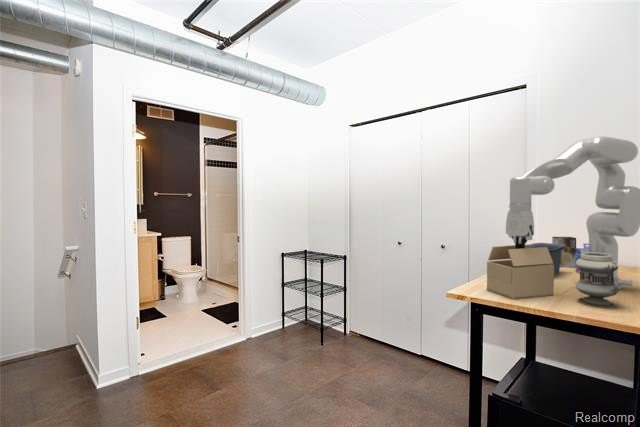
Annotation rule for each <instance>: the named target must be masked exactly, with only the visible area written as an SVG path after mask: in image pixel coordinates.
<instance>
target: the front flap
mask: <svg viewBox="0 0 640 427" xmlns="http://www.w3.org/2000/svg"><path fill="white" fill-rule="evenodd" d="M508 252H509V255H510V258H511V259H510V260H511V261H512V264H513V266H525V265H538V264H551V263H553V261H552V258H551V256H550V253H549V251H548V248H547V247H539V248H523V249H508Z"/></svg>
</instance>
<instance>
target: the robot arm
mask: <svg viewBox="0 0 640 427" xmlns="http://www.w3.org/2000/svg"><path fill="white" fill-rule="evenodd" d="M638 149H639V148H638V146H637V145H636V143H634V142H632V141H630V140H625V139H621V138H616V137H612V136H596V137H589V138H584V139H580V140H578V141H576V142H574V143H572V144H571V145H570V146H568V148H566V149H565V150H563V151H562V152H561V153H559V154H558V155H557V156H555V157H554V158H552V159H550V160H548V161H546V162H544V163H542V164H540V165H538V166H537V167H534V168H533V169H531V170H530V171H527V173H525V174H524V175H523V176H515V177H511V178H510V180H509V205H508V208H509V210H508V211H507V213H506V222H505V234H506V235H508V237H509V238H510V239H512V240H513V243H514V245H515V249H523V248H525V245H527V242H528V241H531V240H533V236H534V235H535V222H534V221H535V220H534V214H533V211H532V195H533V196H543V195H548V194H550V193H552V192H553V191H554V189H555V181H554V179H558V178H562V177H565V176H568V175H571V174H572V173H574V171H575V170H578V168H579V167H581V166H582V165H583V164H585V163H586V162H587V161H589V162H590V163H591V164H592V166H593V167H595V169H596V171H597V173H598V181H597V182H598V183H597V187H596V188H597V189H596V192H595V194H596V195H595V202H594V203H595V205H596V206H597V207H598V208H599V209H602V210H618V212H612V211H611V212H609V211H607V212H606V211H598V212H595V213H592V214H590V215H589V216H588V217H587V219H586V230H587V233H588V244H589V245H588V246H589V252H595V253H606V254H611V255H612V259H613V261H615V262H616V263H617V264H618V265H619V244H618V241H617V239H616V237H622V238H626V237H627V238H629V237H632V236H633V237H634V236H635V235H636V234H637V233H638V231H639V229H640V188H639V187H637V186H633V185H625V184H626V173H625V172H626V171H625V170H624V169H623V168H622V167H621V166H620V165H619V164H626V163H629V162H632V161H634V160H635V159H636V158H637V156H638V154H639V150H638ZM618 269H619V268H618ZM618 269H617V270H615V271H614V284H615V285H616V286H617V287H618V289H619V290H622V289H623V286H627V287H632V286H633V281H632V280H627V279H621V278H620V276H619V275H618V273H619V271H618Z"/></svg>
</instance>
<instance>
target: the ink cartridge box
mask: <svg viewBox="0 0 640 427" xmlns="http://www.w3.org/2000/svg"><path fill="white" fill-rule="evenodd" d="M582 244H583V247H580V248H577V247H576V248H575V250H576V261H577V260H578V259H580V258H581V255H582V253H586V252H589V243H582ZM575 272H576V273H578V274H580V268H579V267H577V265H576V267H575Z"/></svg>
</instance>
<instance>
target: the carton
mask: <svg viewBox="0 0 640 427" xmlns="http://www.w3.org/2000/svg"><path fill="white" fill-rule="evenodd" d="M486 291H489V292H492V293H494V294H498V295H500V296H503V297H505V298H508V299H511V300H522V299H530V298H537V297H538V298H539V297H541V298H542V297H549V296H550V297H551V296H554V295H555V274H554V265H552V264H538V265H525V266H513V264H512V261H511V259H502V260H487V261H486Z"/></svg>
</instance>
